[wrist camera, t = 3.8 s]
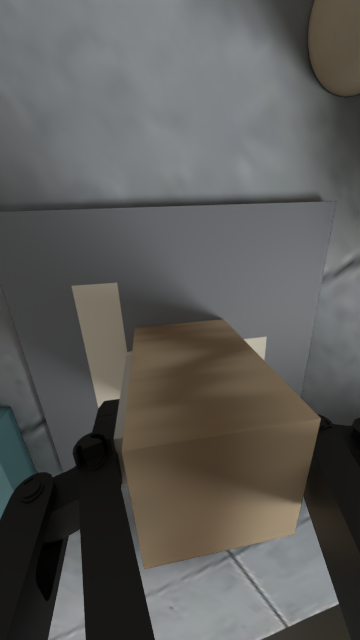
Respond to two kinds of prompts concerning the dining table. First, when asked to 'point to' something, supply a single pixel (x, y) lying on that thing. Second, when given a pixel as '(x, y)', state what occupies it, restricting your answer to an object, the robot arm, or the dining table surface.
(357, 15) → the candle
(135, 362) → the wooden block
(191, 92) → the dining table surface
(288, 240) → the board
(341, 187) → the dining table surface
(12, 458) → the tray
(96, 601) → the robot arm
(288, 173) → the dining table surface
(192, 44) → the dining table surface
